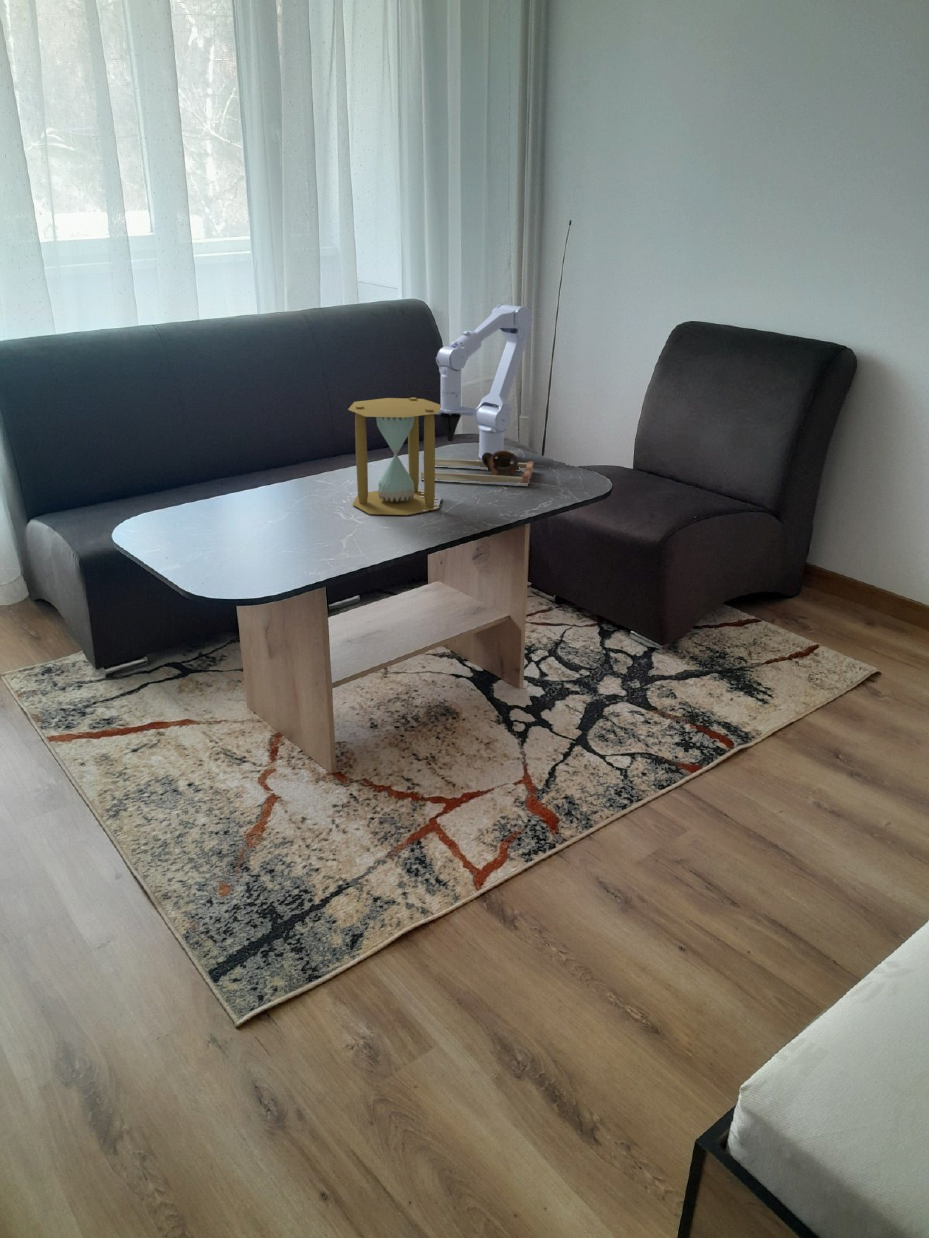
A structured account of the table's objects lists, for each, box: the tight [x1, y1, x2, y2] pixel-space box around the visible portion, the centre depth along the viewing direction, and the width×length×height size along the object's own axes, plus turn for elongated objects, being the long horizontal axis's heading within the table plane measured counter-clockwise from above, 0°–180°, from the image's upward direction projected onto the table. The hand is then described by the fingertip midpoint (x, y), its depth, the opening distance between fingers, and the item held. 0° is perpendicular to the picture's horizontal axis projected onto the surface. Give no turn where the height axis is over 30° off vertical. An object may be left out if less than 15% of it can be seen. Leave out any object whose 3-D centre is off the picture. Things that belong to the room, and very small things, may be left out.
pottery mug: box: [482, 450, 520, 476], centre depth 262 cm, size 12×10×8 cm
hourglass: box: [347, 397, 442, 516], centre depth 235 cm, size 24×22×25 cm
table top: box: [420, 457, 534, 483], centre depth 262 cm, size 15×30×3 cm, turn 81°
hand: (450, 440), depth 265 cm, fingers closed
